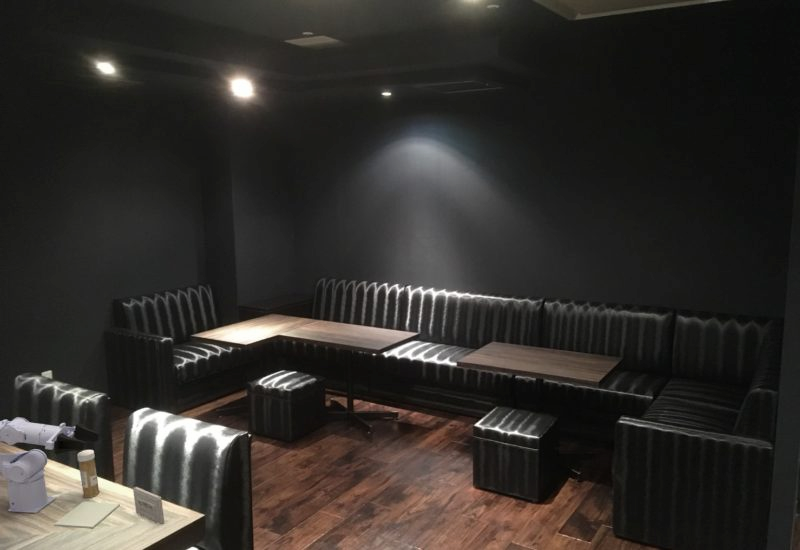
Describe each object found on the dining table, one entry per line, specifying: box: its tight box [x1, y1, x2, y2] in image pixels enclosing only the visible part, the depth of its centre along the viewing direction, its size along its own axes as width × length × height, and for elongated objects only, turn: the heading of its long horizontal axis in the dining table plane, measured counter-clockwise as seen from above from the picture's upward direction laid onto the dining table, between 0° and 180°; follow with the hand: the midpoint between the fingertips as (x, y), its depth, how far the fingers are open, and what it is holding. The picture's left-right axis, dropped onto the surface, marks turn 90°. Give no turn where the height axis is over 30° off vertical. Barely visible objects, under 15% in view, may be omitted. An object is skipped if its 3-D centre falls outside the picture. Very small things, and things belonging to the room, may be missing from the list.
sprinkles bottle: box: [76, 449, 100, 499], centre depth 196 cm, size 5×5×13 cm
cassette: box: [132, 486, 165, 525], centre depth 181 cm, size 12×2×8 cm, turn 55°
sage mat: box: [54, 501, 121, 530], centre depth 185 cm, size 12×12×1 cm
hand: (91, 441), depth 187 cm, fingers open, 7 cm apart
